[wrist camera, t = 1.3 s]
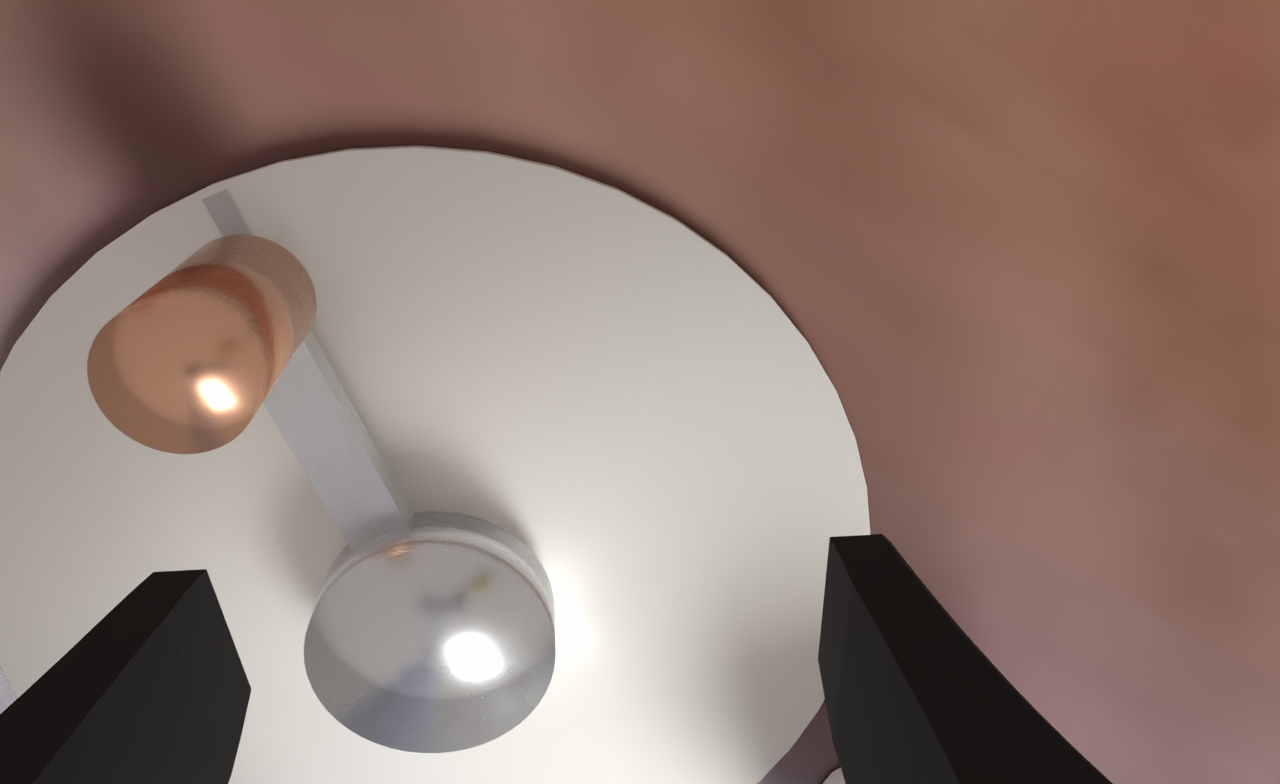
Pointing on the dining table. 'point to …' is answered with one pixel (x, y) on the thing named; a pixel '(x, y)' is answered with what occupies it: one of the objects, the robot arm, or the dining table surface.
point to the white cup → (835, 777)
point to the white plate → (468, 464)
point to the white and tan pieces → (337, 504)
